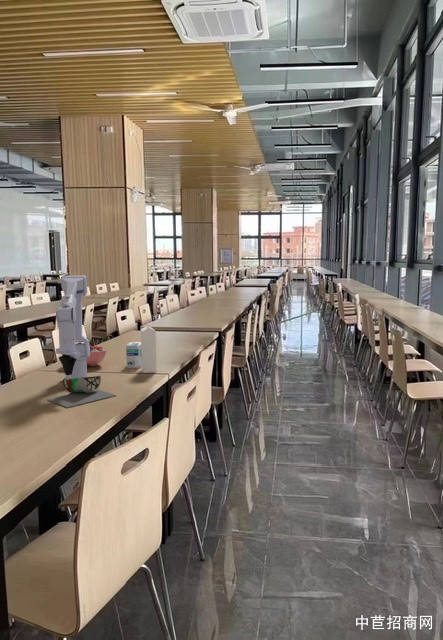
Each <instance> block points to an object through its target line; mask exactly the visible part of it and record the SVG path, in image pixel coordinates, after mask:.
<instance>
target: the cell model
mask: <svg viewBox="0 0 443 640" xmlns="http://www.w3.org/2000/svg"><path fill="white" fill-rule="evenodd" d="M78 343H82V342H76V344H78ZM89 346H90V355H89V357H88V358H87V359H86V361H87V367H94V366H97V365H99V364H100V363H102V362H103V361H104V359H105V356H106V354H107V350H108V349H106V348H105V347H104V346H98V345H89Z"/></svg>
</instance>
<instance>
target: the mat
mask: <svg viewBox="0 0 443 640" xmlns="http://www.w3.org/2000/svg"><path fill="white" fill-rule="evenodd" d="M114 397H117V395H116V394H114V393H112V392H111V393H110V392H108V391H105V390H102V389H99V388H98V389H97V390H96V391H94V392H92V393H86V392H75V393H69V394H66V395H65V394H64V395H61V396H56V397H51V398H47V399H46V400H47V401H48V402H49V403H50V402H51V403H54V405H55V404H56V405H59V406H61V407H64V408H65V409H69V408H73V407H77V406H81V405H85V404H90V403H94V402H98V401H101V400H105V399H110V398H114Z"/></svg>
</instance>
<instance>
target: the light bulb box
mask: <svg viewBox="0 0 443 640" xmlns="http://www.w3.org/2000/svg"><path fill="white" fill-rule="evenodd" d="M125 348H126V356H125V358H126V368H127V369H129V368H130V369H133V368H134V369H137V368H138V369H142V359H141V341H130V342H128V343H127V344H126V346H125Z"/></svg>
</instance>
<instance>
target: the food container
mask: <svg viewBox="0 0 443 640" xmlns="http://www.w3.org/2000/svg"><path fill="white" fill-rule="evenodd" d="M101 382H102V376H101V375H95V376H87V377H80V378H74V379H68V380H66V379H64V380H62V385H63V387H64V389H65V391H67V392H68V393H69V394H73V393H77V392H86V393H92V392H94V391H96V390H97V389H99V388H100V385H101Z"/></svg>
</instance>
